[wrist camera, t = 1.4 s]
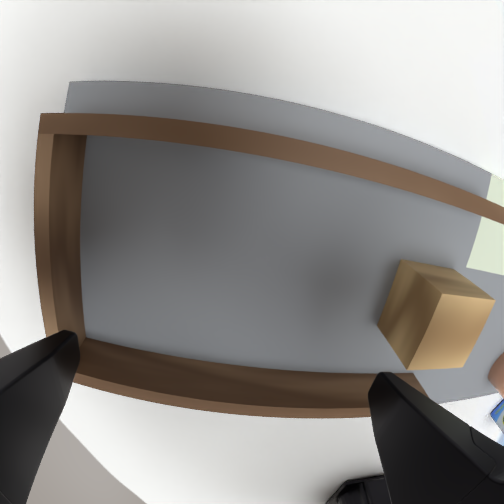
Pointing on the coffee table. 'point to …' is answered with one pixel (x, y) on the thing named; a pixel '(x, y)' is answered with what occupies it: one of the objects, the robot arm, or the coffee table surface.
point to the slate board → (270, 239)
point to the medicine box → (499, 415)
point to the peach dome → (497, 375)
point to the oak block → (433, 316)
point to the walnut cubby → (178, 368)
